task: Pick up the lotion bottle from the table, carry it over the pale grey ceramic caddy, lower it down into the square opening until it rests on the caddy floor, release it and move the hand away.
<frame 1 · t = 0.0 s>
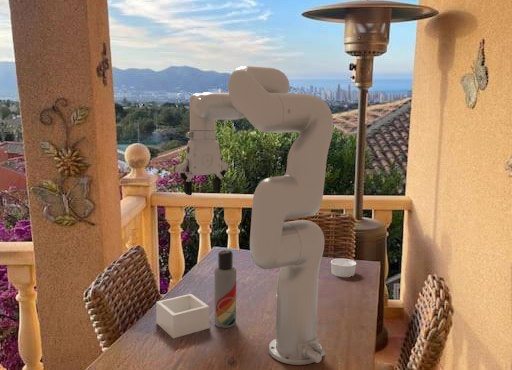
hand: (202, 193, 144), 31 cm above the table, tool pointing down, fingers open, 9 cm apart
caddy: (182, 325, 126), on the table
ramekin: (342, 274, 167), on the table
lotion bottle: (225, 324, 127), on the table
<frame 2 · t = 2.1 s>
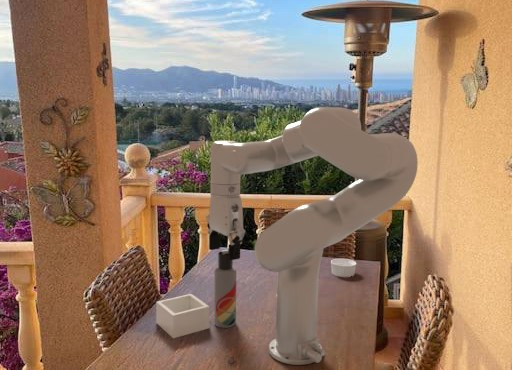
hand: (224, 254, 125), 19 cm above the table, tool pointing down, fingers open, 9 cm apart
nothing on the table moved.
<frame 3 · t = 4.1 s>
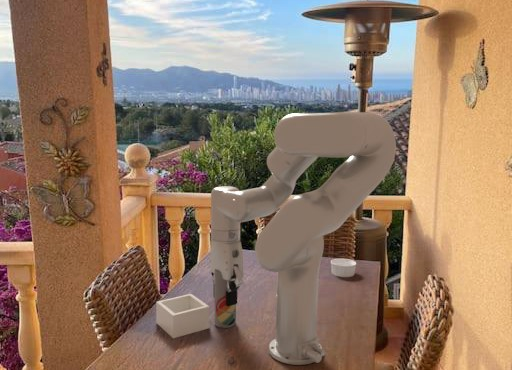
hand: (225, 300, 126), 7 cm above the table, tool pointing down, fingers closed on lotion bottle, 5 cm apart
lotion bottle: (225, 324, 127), on the table, touching gripper
everything else where it was.
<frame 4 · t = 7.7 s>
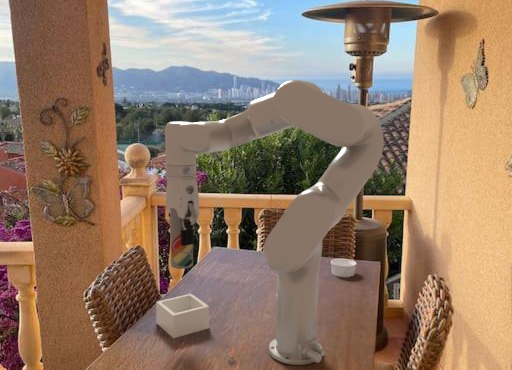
hand: (181, 241, 122), 23 cm above the table, tool pointing down, fingers closed on lotion bottle, 5 cm apart
lotion bottle: (182, 266, 123), point 16 cm above the table, touching gripper
everything else where it was.
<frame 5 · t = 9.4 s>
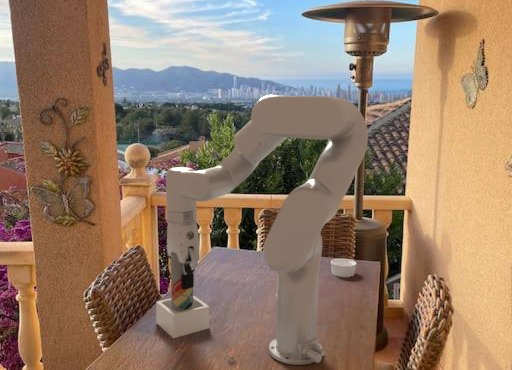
hand: (182, 283, 124), 12 cm above the table, tool pointing down, fingers closed on lotion bottle, 5 cm apart
lotion bottle: (182, 308, 125), point 5 cm above the table, touching gripper
everything else where it was.
when the fingers open (9 cm above the table, at t = 11.1 s): lotion bottle drops 2 cm, resting on caddy.
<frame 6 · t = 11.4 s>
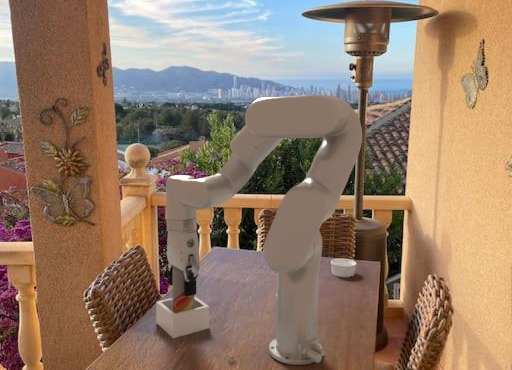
hand: (182, 289, 124), 10 cm above the table, tool pointing down, fingers open, 8 cm apart
lotion bottle: (183, 322, 125), point 1 cm above the table, touching caddy
everything else where it was.
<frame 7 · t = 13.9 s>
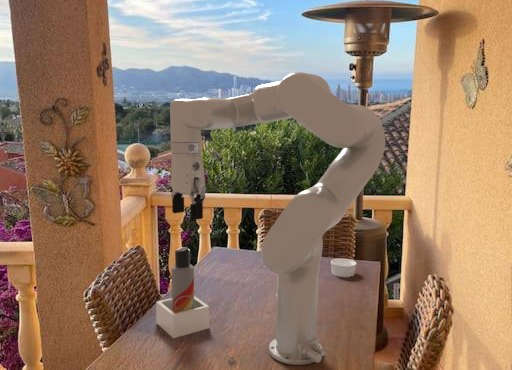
hand: (187, 215, 122), 29 cm above the table, tool pointing down, fingers open, 9 cm apart
nothing on the table moved.
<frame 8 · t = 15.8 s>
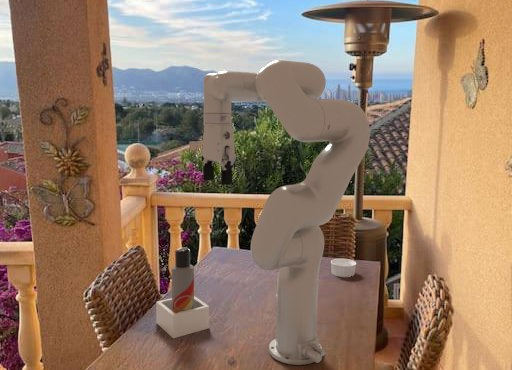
hand: (217, 182, 133), 36 cm above the table, tool pointing down, fingers open, 9 cm apart
nothing on the table moved.
at the end: lotion bottle 0.1 cm off-centre on the caddy, point 0.8 cm above the caddy's base; lotion bottle tilted 0°; the gripper is holding nothing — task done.
